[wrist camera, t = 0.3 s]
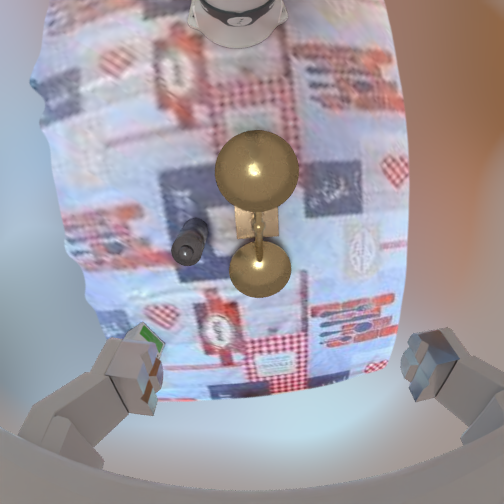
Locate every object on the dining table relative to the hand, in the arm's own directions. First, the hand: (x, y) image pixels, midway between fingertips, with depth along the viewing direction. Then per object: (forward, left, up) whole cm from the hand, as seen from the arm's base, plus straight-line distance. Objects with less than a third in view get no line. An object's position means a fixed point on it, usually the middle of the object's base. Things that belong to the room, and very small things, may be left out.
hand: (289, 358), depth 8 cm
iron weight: (+11, -11, -48) cm, 50 cm away
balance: (+9, +1, -48) cm, 48 cm away
